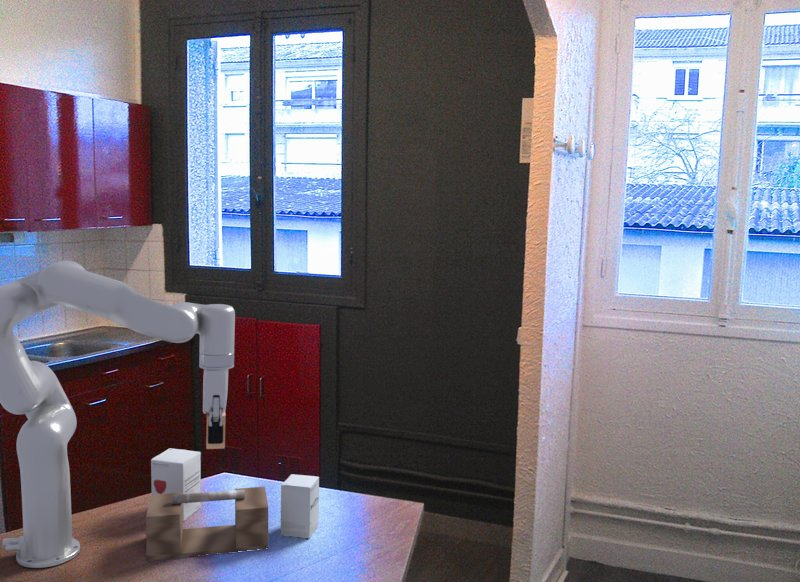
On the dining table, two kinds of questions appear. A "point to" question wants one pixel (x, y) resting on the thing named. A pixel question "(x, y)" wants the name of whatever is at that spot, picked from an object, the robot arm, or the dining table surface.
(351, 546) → the dining table surface
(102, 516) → the dining table surface
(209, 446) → the cord clip
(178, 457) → the supplement box
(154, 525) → the rod slider mechanism
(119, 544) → the dining table surface
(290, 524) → the supplement box
